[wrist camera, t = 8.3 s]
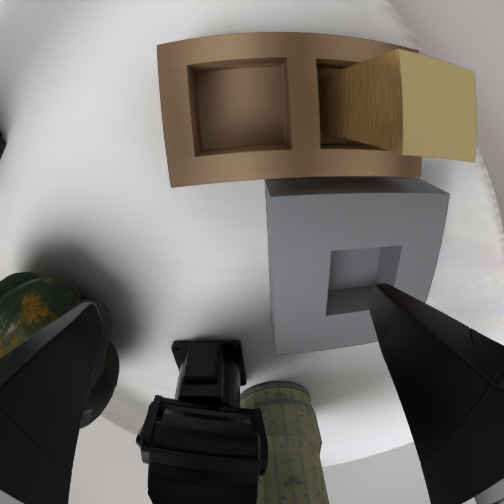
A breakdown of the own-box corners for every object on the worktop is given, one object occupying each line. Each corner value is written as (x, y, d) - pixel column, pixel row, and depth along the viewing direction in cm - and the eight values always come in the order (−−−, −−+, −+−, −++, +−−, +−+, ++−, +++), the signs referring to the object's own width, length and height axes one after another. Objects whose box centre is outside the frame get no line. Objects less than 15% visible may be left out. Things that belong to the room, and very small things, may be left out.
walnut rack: (388, 58, 15) (418, 50, 11) (390, 164, 18) (420, 177, 15) (173, 58, 15) (156, 45, 11) (184, 173, 18) (171, 187, 15)
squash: (175, 385, 20) (-6, 441, 7) (106, 423, 25) (-4, 454, 12) (109, 244, 25) (-40, 228, 11) (62, 318, 30) (-41, 323, 16)
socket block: (397, 306, 24) (415, 333, 20) (271, 321, 24) (275, 355, 21) (419, 178, 19) (449, 193, 15) (264, 180, 19) (270, 197, 15)
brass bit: (369, 133, 16) (475, 162, 7) (319, 132, 16) (402, 154, 7) (367, 83, 15) (474, 71, 6) (317, 80, 15) (398, 49, 6)
